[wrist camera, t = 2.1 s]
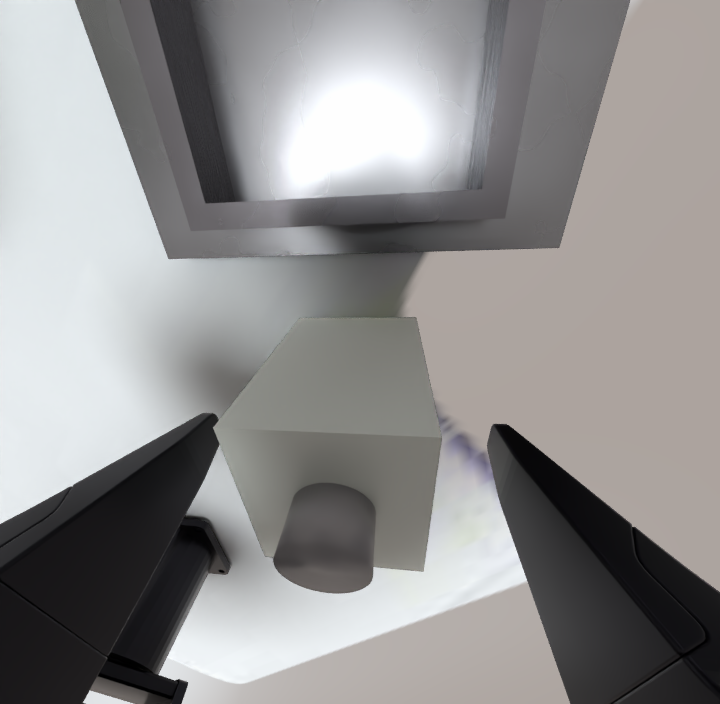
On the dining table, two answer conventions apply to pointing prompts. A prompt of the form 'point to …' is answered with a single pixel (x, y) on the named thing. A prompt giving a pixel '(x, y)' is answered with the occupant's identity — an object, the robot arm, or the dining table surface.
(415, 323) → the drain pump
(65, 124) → the dining table surface
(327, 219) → the motor mount
